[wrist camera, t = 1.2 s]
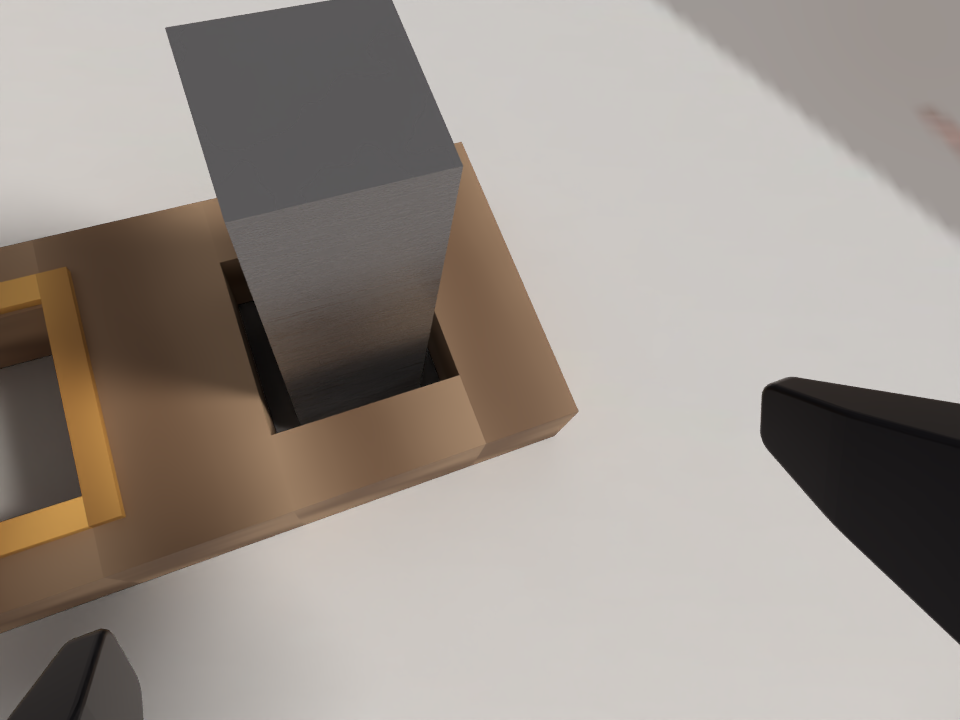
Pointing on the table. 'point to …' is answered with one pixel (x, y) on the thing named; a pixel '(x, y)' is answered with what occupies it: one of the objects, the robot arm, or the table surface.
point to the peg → (327, 189)
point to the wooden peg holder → (237, 400)
